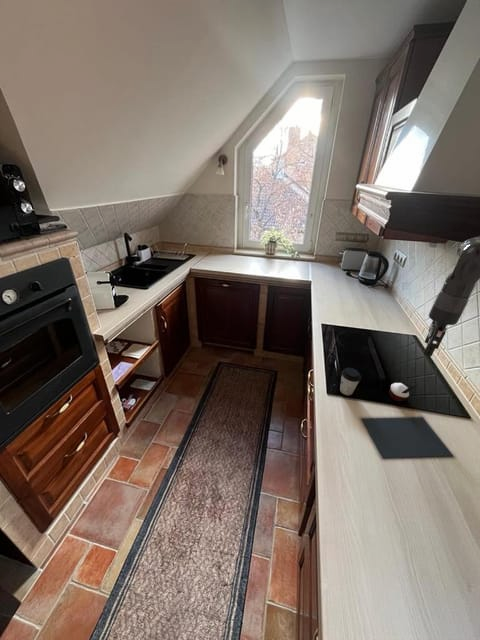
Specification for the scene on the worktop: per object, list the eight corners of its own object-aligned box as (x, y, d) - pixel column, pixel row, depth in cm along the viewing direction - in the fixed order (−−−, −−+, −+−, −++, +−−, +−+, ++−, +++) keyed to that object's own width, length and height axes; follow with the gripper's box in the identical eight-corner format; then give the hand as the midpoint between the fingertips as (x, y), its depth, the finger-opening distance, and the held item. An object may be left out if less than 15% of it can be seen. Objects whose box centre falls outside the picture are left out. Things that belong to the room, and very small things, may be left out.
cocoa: (386, 387, 101) (396, 364, 95) (404, 393, 99) (416, 369, 93) (387, 404, 94) (398, 380, 88) (406, 410, 92) (419, 386, 86)
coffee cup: (358, 392, 99) (365, 372, 94) (350, 401, 95) (356, 381, 90) (342, 382, 103) (348, 363, 98) (333, 390, 99) (338, 371, 94)
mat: (422, 418, 89) (422, 417, 89) (452, 456, 77) (453, 455, 77) (361, 419, 88) (361, 418, 88) (382, 458, 76) (382, 457, 76)
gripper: (465, 319, 71) (440, 364, 79) (462, 301, 81) (440, 343, 89) (433, 311, 74) (413, 355, 82) (434, 295, 84) (416, 335, 93)
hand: (427, 348), depth 86 cm, fingers open, 8 cm apart
